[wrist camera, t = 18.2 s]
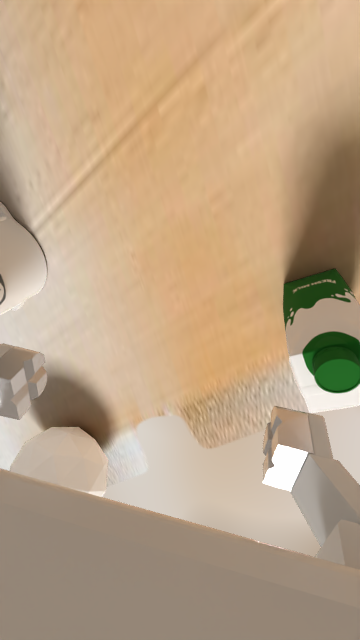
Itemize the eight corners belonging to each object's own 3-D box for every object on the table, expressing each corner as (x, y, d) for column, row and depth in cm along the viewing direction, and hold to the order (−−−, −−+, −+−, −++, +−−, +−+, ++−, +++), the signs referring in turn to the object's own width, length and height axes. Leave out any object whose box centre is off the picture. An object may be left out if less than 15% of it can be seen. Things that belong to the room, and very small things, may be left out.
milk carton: (341, 259, 44) (389, 344, 27) (355, 316, 47) (405, 422, 30) (275, 280, 47) (281, 366, 30) (292, 331, 51) (307, 435, 34)
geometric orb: (105, 407, 79) (126, 462, 61) (91, 480, 83) (106, 551, 65) (17, 407, 71) (11, 470, 53) (5, 487, 74) (-4, 570, 57)
